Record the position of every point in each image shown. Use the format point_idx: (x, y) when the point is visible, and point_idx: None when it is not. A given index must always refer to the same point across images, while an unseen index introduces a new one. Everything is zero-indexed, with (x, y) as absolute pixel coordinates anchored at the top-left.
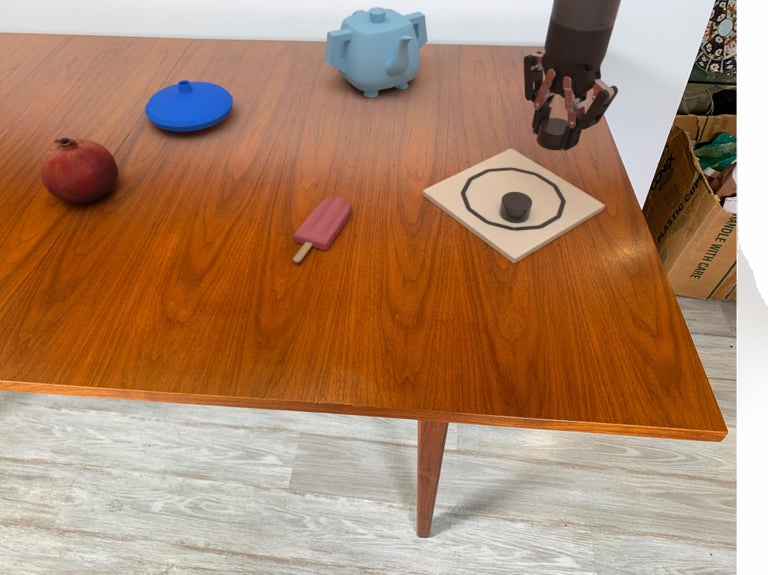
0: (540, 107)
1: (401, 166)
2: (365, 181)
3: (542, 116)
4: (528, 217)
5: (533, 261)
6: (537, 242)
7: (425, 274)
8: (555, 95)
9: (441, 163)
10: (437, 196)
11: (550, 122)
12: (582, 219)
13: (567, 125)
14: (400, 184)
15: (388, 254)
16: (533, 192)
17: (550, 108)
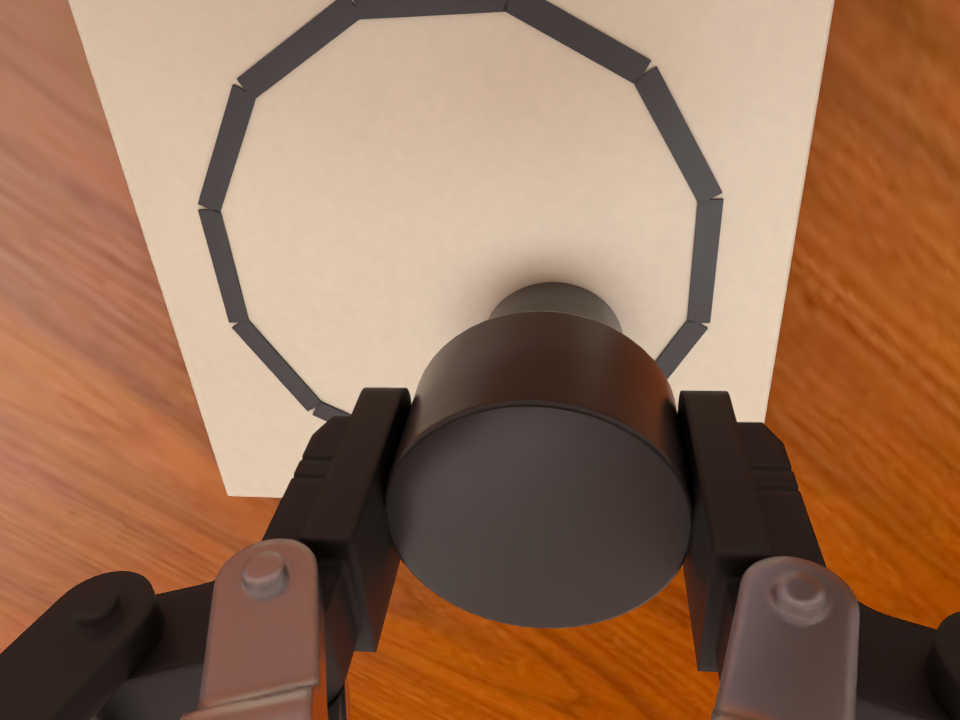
0: (347, 695)
1: (29, 428)
2: (85, 556)
3: (381, 579)
4: (620, 328)
5: (791, 439)
6: (754, 398)
7: (581, 671)
8: (322, 677)
9: (53, 297)
10: (288, 484)
11: (458, 521)
12: (816, 99)
13: (704, 661)
14: (143, 492)
15: (449, 684)
16: (482, 151)
17: (356, 552)
